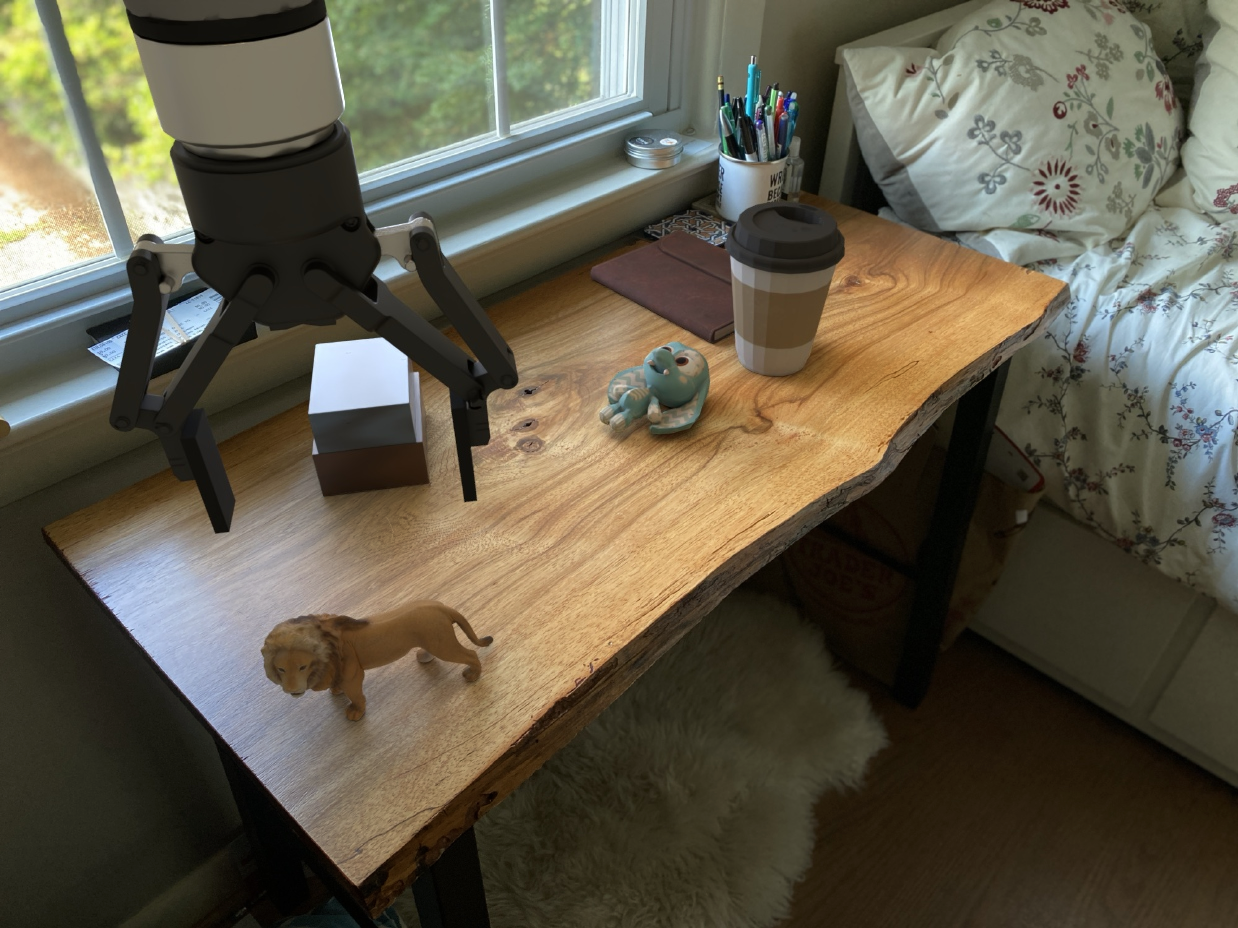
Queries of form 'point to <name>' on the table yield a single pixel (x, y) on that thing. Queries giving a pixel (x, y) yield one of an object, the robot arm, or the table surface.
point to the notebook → (677, 282)
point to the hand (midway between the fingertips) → (349, 502)
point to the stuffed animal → (659, 390)
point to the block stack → (367, 418)
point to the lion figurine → (364, 648)
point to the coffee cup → (780, 282)
